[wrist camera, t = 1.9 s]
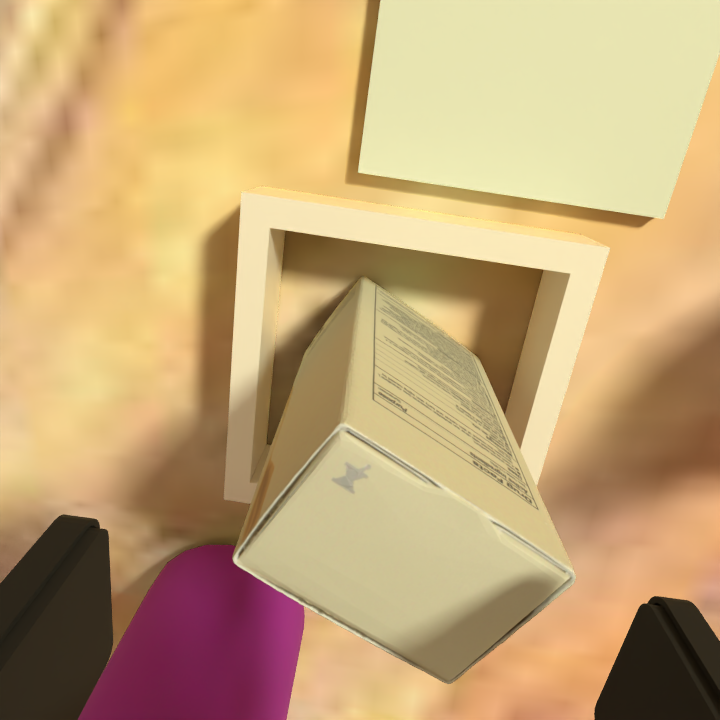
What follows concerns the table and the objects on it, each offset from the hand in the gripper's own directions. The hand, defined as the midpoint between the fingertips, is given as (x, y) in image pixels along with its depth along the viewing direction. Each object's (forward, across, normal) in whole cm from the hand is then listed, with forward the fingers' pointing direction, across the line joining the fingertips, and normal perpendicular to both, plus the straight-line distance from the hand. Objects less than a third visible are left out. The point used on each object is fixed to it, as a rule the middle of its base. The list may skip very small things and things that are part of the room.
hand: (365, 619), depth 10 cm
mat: (+14, -4, -12) cm, 19 cm away
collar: (+14, -1, 0) cm, 14 cm away
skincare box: (+14, -1, 0) cm, 14 cm away
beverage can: (+14, +5, +14) cm, 21 cm away
